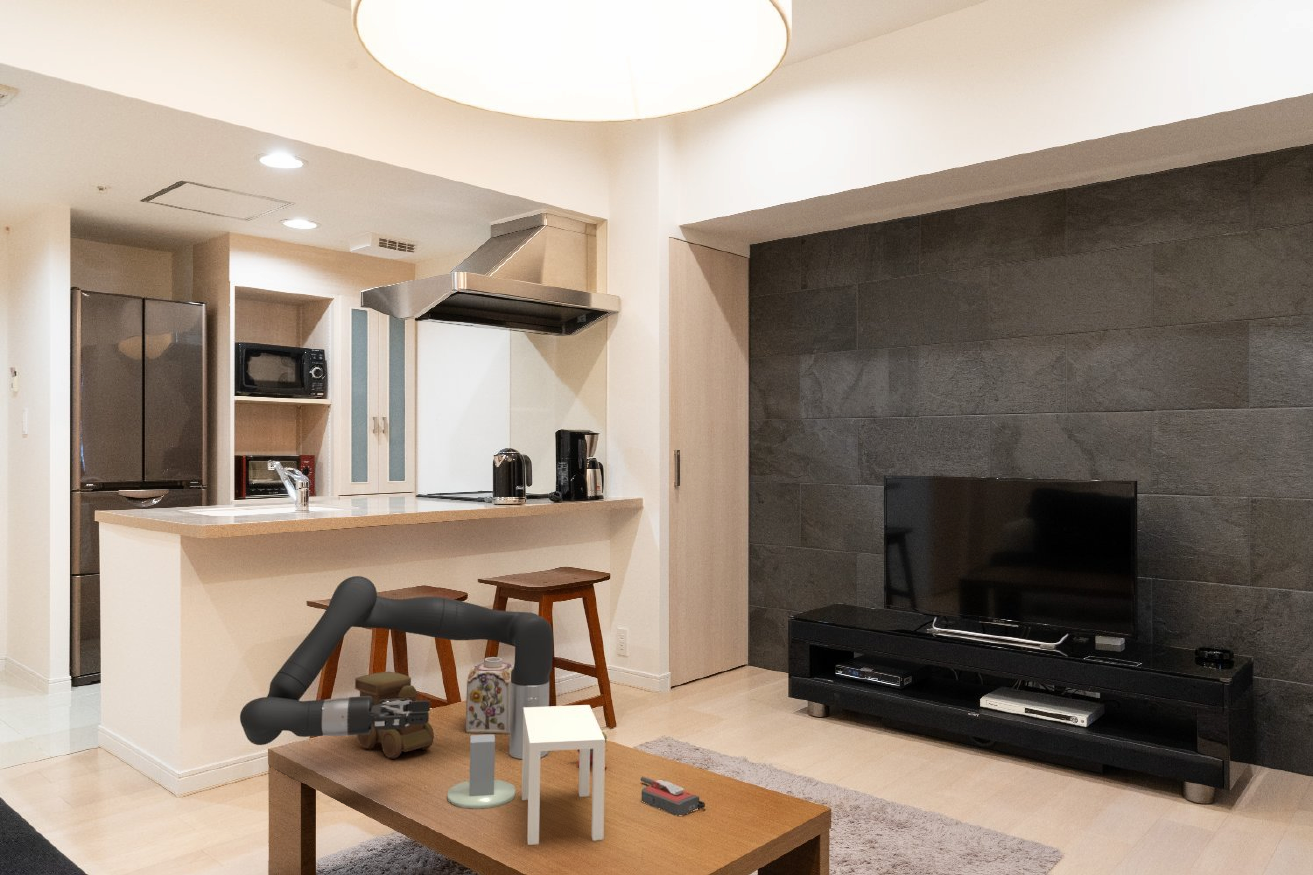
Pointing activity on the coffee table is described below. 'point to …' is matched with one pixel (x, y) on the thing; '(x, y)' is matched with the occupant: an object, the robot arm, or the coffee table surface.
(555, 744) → the white step stool
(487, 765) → the block
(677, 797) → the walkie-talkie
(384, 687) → the wooden toy train
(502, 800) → the plate
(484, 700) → the decorative jar
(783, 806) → the coffee table surface
